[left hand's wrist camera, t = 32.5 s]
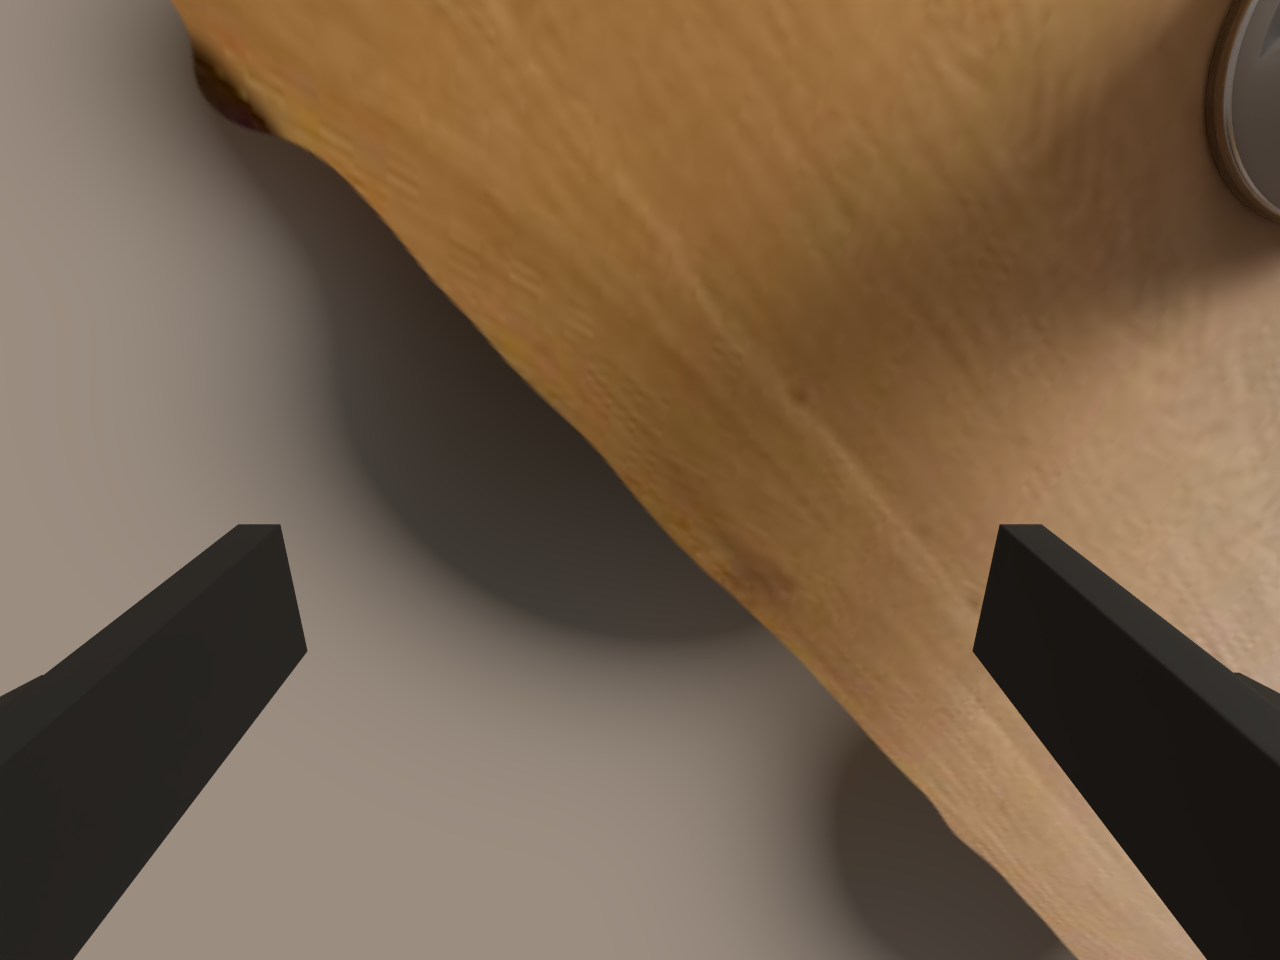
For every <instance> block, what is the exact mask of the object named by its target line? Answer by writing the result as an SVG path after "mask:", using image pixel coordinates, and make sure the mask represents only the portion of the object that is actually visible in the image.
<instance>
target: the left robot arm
mask: <svg viewBox="0 0 1280 960" xmlns="http://www.w3.org/2000/svg"><path fill="white" fill-rule="evenodd" d="M1206 123H1207V132H1208V138H1209V143H1210V148H1211V151H1212V154H1213V157H1214V160H1215V163H1216V165H1217V167H1218V170H1219V172H1220V174H1221V176H1222V178H1223V179H1224V181H1225V182H1226V184H1227V185H1228V187H1229V188H1230V189H1231V191H1232V192H1233V193H1234V194H1235V195H1236V196H1237V198H1238V199H1240V200H1241V201H1242V202H1243V203H1244V204H1245V205H1246V206H1247V207H1249V208H1250V209H1252V210H1253V211H1255V212H1256V213H1258V214H1259V215H1261V216H1263V217H1266V218H1268V219H1270V220H1272V221H1275V222H1278V223H1280V0H1235V2H1234V4H1233V6H1232V8H1231V10H1230V12H1229V14H1228V16H1227V19H1226V21H1225V23H1224V26H1223V28H1222V30H1221V33H1220V36H1219V39H1218V42H1217V45H1216V48H1215V51H1214V55H1213V59H1212V63H1211V67H1210V73H1209V79H1208V84H1207V96H1206ZM306 652H307V647H306V642H305V638H304V633H303V628H302V623H301V619H300V614H299V609H298V605H297V600H296V595H295V591H294V586H293V581H292V577H291V572H290V567H289V563H288V558H287V553H286V549H285V544H284V539H283V535H282V530H281V526H280V524H239V525H237V526H236V527H234V528H233V529H232V530H231V531H229V532H228V533H227V534H225V535H224V536H223V537H221V538H220V539H219V540H218V541H216V542H215V543H214V544H212V545H211V546H210V547H209V548H207V549H206V550H205V551H204V552H202V553H201V554H200V555H198V556H197V557H196V558H194V559H193V560H192V561H190V562H189V563H188V564H187V565H185V566H184V567H183V568H181V569H180V570H179V571H178V572H176V573H175V574H174V575H172V576H171V577H170V578H169V579H167V580H166V581H165V582H163V583H162V584H161V585H160V586H158V587H157V588H156V589H154V590H153V591H152V592H150V593H149V594H148V595H147V596H145V597H144V598H143V599H141V600H140V601H139V602H138V603H136V604H135V605H134V606H132V607H131V608H130V609H128V610H127V611H126V612H125V613H123V614H122V615H121V616H119V617H118V618H117V619H116V620H114V621H113V622H112V623H110V624H109V625H108V626H107V627H105V628H104V629H103V630H101V631H100V632H99V633H98V634H96V635H95V636H94V637H92V638H91V639H90V640H88V641H87V642H86V643H85V644H83V645H82V646H81V647H79V648H78V649H77V650H76V651H74V652H73V653H72V654H70V655H69V656H68V657H67V658H65V659H64V660H63V661H61V662H60V663H59V664H57V665H56V666H55V667H54V668H52V669H51V670H50V671H48V672H47V673H46V674H44V675H41V676H39V677H37V678H35V679H33V680H31V681H30V682H28V683H26V684H24V685H22V686H20V687H18V688H16V689H14V690H12V691H10V692H8V693H6V694H4V695H2V696H1V697H0V960H73V959H74V958H75V956H76V955H77V954H78V952H79V951H80V950H81V948H82V947H83V946H84V944H85V943H86V942H87V941H88V939H89V938H90V937H91V935H92V934H93V933H94V931H95V930H96V929H97V927H98V926H99V925H100V923H101V922H102V921H103V919H104V918H105V917H106V916H107V914H108V913H109V912H110V910H111V909H112V908H113V906H114V905H115V904H116V902H117V901H118V900H119V898H120V897H121V896H122V894H123V893H124V892H125V891H126V889H127V888H128V887H129V885H130V884H131V883H132V881H133V880H134V879H135V877H136V876H137V875H138V873H139V872H140V871H141V869H142V868H143V867H144V866H145V864H146V863H147V862H148V860H149V859H150V858H151V856H152V855H153V854H154V852H155V851H156V850H157V848H158V847H159V846H160V844H161V843H162V842H163V840H164V839H165V838H166V837H167V835H168V834H169V833H170V831H171V830H172V829H173V827H174V826H175V825H176V823H177V822H178V821H179V819H180V818H181V817H182V816H183V814H184V813H185V812H186V810H187V809H188V807H189V806H190V805H191V804H192V802H193V801H194V800H195V798H196V797H197V796H198V794H199V793H200V792H201V790H202V789H203V788H204V787H205V785H206V784H207V783H208V781H209V780H210V779H211V777H212V776H213V775H214V773H215V772H216V771H217V769H218V768H219V767H220V766H221V764H222V763H223V762H224V760H225V759H226V758H227V756H228V755H229V754H230V752H231V751H232V750H233V748H234V747H235V746H236V744H237V743H238V742H239V741H240V739H241V738H242V737H243V735H244V734H245V733H246V731H247V730H248V729H249V727H250V726H251V725H252V723H253V722H254V721H255V719H256V718H257V717H258V716H259V714H260V713H261V711H262V710H263V709H264V708H265V706H266V705H267V704H268V702H269V701H270V700H271V698H272V697H273V696H274V694H275V693H276V692H277V690H278V689H279V688H280V687H281V685H282V684H283V683H284V681H285V680H286V679H287V677H288V676H289V675H290V673H291V672H292V671H293V669H294V668H295V667H296V665H297V664H298V663H299V662H300V660H301V659H302V658H303V656H304V655H305V654H306ZM973 652H974V654H975V655H976V656H977V658H978V659H979V660H980V662H981V663H982V664H983V666H984V667H985V668H986V669H987V671H988V672H989V673H990V675H991V676H992V677H993V679H994V680H995V681H996V683H997V684H998V685H999V687H1000V688H1001V689H1002V691H1003V692H1004V693H1005V694H1006V696H1007V697H1008V698H1009V700H1010V701H1011V702H1012V704H1013V705H1014V706H1015V708H1016V709H1017V710H1018V712H1019V713H1020V714H1021V716H1022V717H1023V718H1024V719H1025V721H1026V722H1027V723H1028V725H1029V726H1030V727H1031V729H1032V730H1033V731H1034V733H1035V734H1036V735H1037V737H1038V738H1039V739H1040V741H1041V742H1042V743H1043V744H1044V746H1045V747H1046V748H1047V750H1048V751H1049V752H1050V754H1051V755H1052V756H1053V758H1054V759H1055V760H1056V762H1057V763H1058V764H1059V766H1060V767H1061V768H1062V769H1063V771H1064V772H1065V773H1066V775H1067V776H1068V777H1069V779H1070V780H1071V781H1072V783H1073V784H1074V785H1075V787H1076V788H1077V789H1078V791H1079V792H1080V793H1081V794H1082V796H1083V797H1084V798H1085V800H1086V801H1087V802H1088V804H1089V805H1090V806H1091V808H1092V809H1093V810H1094V812H1095V813H1096V814H1097V816H1098V817H1099V818H1100V819H1101V821H1102V822H1103V823H1104V825H1105V826H1106V827H1107V829H1108V830H1109V831H1110V833H1111V834H1112V835H1113V837H1114V838H1115V839H1116V841H1117V842H1118V843H1119V844H1120V846H1121V847H1122V848H1123V850H1124V851H1125V852H1126V854H1127V855H1128V856H1129V858H1130V859H1131V860H1132V862H1133V863H1134V864H1135V866H1136V867H1137V868H1138V869H1139V871H1140V872H1141V873H1142V875H1143V876H1144V877H1145V879H1146V880H1147V881H1148V883H1149V884H1150V885H1151V887H1152V888H1153V889H1154V891H1155V892H1156V893H1157V894H1158V896H1159V897H1160V898H1161V900H1162V901H1163V902H1164V904H1165V905H1166V906H1167V908H1168V909H1169V910H1170V912H1171V913H1172V914H1173V916H1174V917H1175V918H1176V919H1177V921H1178V922H1179V923H1180V925H1181V926H1182V927H1183V929H1184V930H1185V931H1186V933H1187V934H1188V935H1189V937H1190V938H1191V939H1192V941H1193V942H1194V943H1195V944H1196V946H1197V947H1198V948H1199V950H1200V951H1201V952H1202V954H1203V955H1204V956H1205V958H1206V959H1207V960H1280V693H1278V692H1276V691H1274V690H1272V689H1270V688H1268V687H1266V686H1264V685H1262V684H1260V683H1258V682H1256V681H1254V680H1252V679H1250V678H1249V677H1247V676H1245V675H1243V674H1241V673H1233V672H1232V671H1230V670H1229V669H1228V668H1226V667H1225V666H1224V665H1223V664H1221V663H1220V662H1219V661H1217V660H1216V659H1215V658H1214V657H1212V656H1211V655H1210V654H1208V653H1207V652H1206V651H1204V650H1203V649H1202V648H1201V647H1199V646H1198V645H1197V644H1195V643H1194V642H1193V641H1192V640H1190V639H1189V638H1188V637H1186V636H1185V635H1184V634H1183V633H1181V632H1180V631H1179V630H1177V629H1176V628H1175V627H1173V626H1172V625H1171V624H1170V623H1168V622H1167V621H1166V620H1164V619H1163V618H1162V617H1161V616H1159V615H1158V614H1157V613H1155V612H1154V611H1153V610H1152V609H1150V608H1149V607H1148V606H1146V605H1145V604H1144V603H1142V602H1141V601H1140V600H1139V599H1137V598H1136V597H1135V596H1133V595H1132V594H1131V593H1130V592H1128V591H1127V590H1126V589H1124V588H1123V587H1122V586H1121V585H1119V584H1118V583H1117V582H1115V581H1114V580H1113V579H1111V578H1110V577H1109V576H1108V575H1106V574H1105V573H1104V572H1102V571H1101V570H1100V569H1099V568H1097V567H1096V566H1095V565H1093V564H1092V563H1091V562H1090V561H1088V560H1087V559H1086V558H1084V557H1083V556H1082V555H1080V554H1079V553H1078V552H1077V551H1075V550H1074V549H1073V548H1071V547H1070V546H1069V545H1068V544H1066V543H1065V542H1064V541H1062V540H1061V539H1060V538H1059V537H1057V536H1056V535H1055V534H1053V533H1052V532H1051V531H1049V530H1048V529H1047V528H1046V527H1044V526H1043V525H1042V524H1000V525H999V530H998V535H997V539H996V544H995V549H994V553H993V558H992V563H991V567H990V572H989V577H988V581H987V586H986V591H985V595H984V600H983V605H982V609H981V614H980V619H979V623H978V628H977V633H976V637H975V642H974V647H973Z"/></svg>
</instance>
